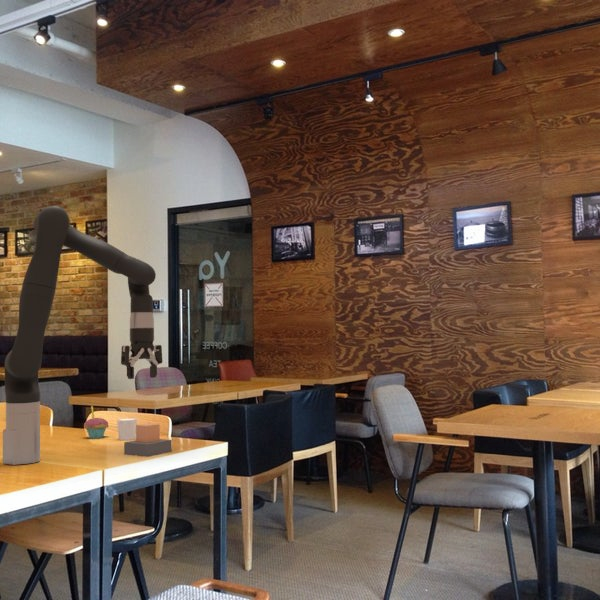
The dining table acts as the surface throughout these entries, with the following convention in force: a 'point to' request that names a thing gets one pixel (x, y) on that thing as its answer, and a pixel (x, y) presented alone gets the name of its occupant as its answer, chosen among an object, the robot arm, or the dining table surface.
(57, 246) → the robot arm
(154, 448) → the charcoal block
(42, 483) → the dining table surface
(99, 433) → the cupcake
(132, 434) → the light grey piece
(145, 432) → the terracotta cube
